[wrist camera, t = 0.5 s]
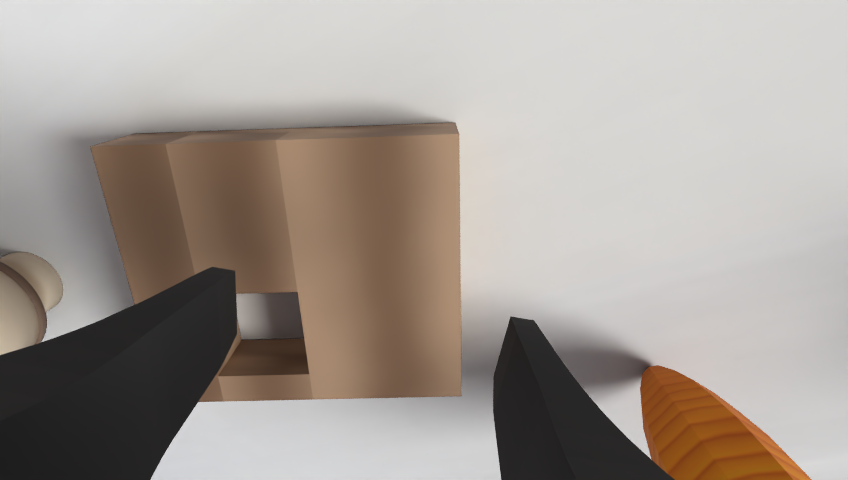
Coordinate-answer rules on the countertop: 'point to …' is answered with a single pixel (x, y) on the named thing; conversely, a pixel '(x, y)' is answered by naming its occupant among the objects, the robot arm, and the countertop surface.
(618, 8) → the countertop surface
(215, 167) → the board
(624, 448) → the robot arm
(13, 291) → the peg
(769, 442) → the carrot
